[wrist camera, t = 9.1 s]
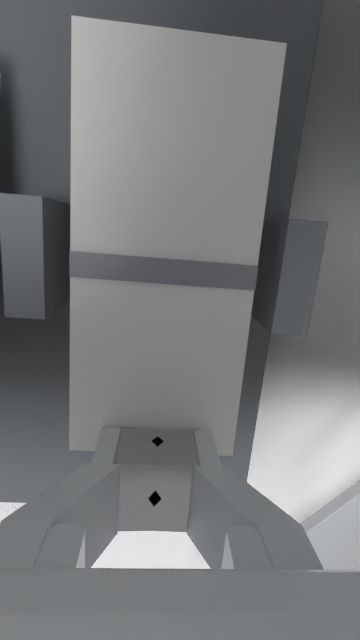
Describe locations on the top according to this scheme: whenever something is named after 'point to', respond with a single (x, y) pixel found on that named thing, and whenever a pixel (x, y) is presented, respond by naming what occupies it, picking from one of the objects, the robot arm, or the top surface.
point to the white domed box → (337, 531)
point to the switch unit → (54, 218)
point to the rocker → (165, 223)
